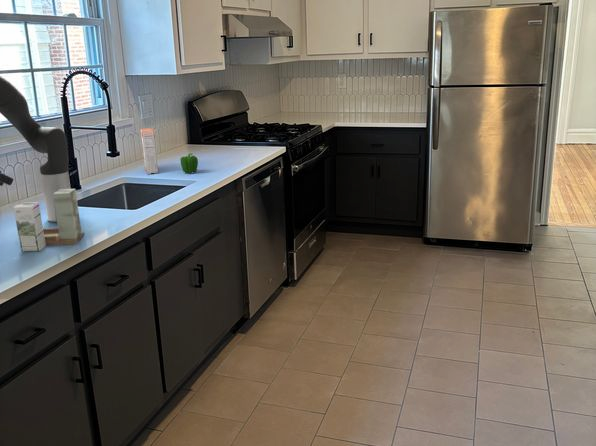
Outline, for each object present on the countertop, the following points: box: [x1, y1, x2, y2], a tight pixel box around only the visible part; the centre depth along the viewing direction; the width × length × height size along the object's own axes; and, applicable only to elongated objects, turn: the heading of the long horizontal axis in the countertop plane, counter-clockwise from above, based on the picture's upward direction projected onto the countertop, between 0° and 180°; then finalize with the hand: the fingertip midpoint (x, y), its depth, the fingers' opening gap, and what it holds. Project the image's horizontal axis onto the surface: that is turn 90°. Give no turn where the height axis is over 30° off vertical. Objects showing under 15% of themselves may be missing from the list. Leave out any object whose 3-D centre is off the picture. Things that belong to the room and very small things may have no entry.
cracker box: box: [140, 127, 159, 175], centre depth 289 cm, size 14×6×21 cm, turn 17°
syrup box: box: [12, 201, 47, 253], centre depth 179 cm, size 6×6×14 cm
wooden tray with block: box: [43, 188, 85, 246], centre depth 187 cm, size 9×14×16 cm, turn 93°
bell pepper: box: [179, 152, 199, 174], centre depth 285 cm, size 8×8×10 cm
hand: (7, 182), depth 175 cm, fingers open, 8 cm apart
